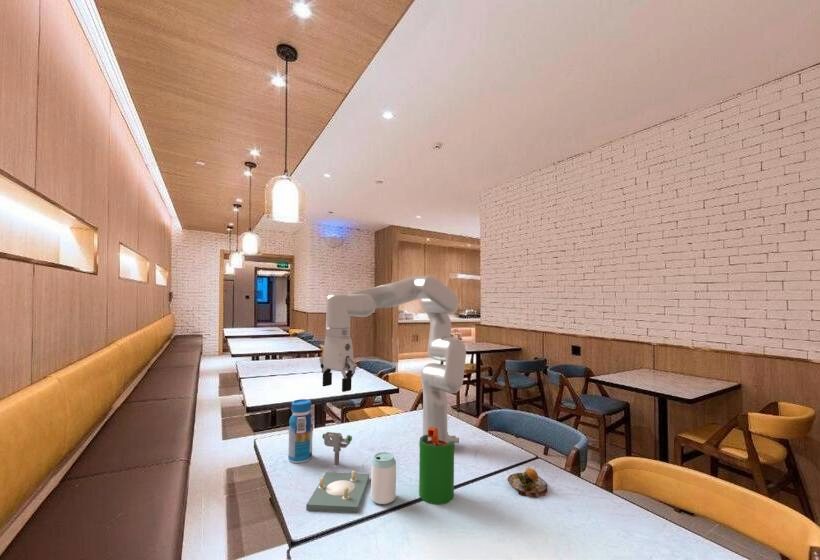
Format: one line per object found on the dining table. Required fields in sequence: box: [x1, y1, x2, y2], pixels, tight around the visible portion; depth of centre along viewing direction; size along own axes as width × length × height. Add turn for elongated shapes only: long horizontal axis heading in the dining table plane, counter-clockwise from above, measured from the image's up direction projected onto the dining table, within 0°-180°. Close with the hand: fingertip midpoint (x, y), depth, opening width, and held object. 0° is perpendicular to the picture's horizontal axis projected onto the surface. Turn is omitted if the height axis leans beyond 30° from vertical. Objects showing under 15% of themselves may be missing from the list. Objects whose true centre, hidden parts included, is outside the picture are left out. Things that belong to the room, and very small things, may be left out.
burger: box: [506, 466, 549, 499], centre depth 109 cm, size 12×12×8 cm
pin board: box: [305, 470, 370, 513], centre depth 105 cm, size 14×18×4 cm
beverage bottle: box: [287, 398, 314, 464], centre depth 128 cm, size 8×8×20 cm
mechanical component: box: [321, 431, 353, 466], centre depth 123 cm, size 3×10×10 cm, turn 79°
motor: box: [418, 427, 455, 505], centre depth 105 cm, size 10×9×20 cm
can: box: [370, 451, 397, 505], centre depth 102 cm, size 7×7×12 cm
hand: (336, 388), depth 112 cm, fingers open, 9 cm apart
